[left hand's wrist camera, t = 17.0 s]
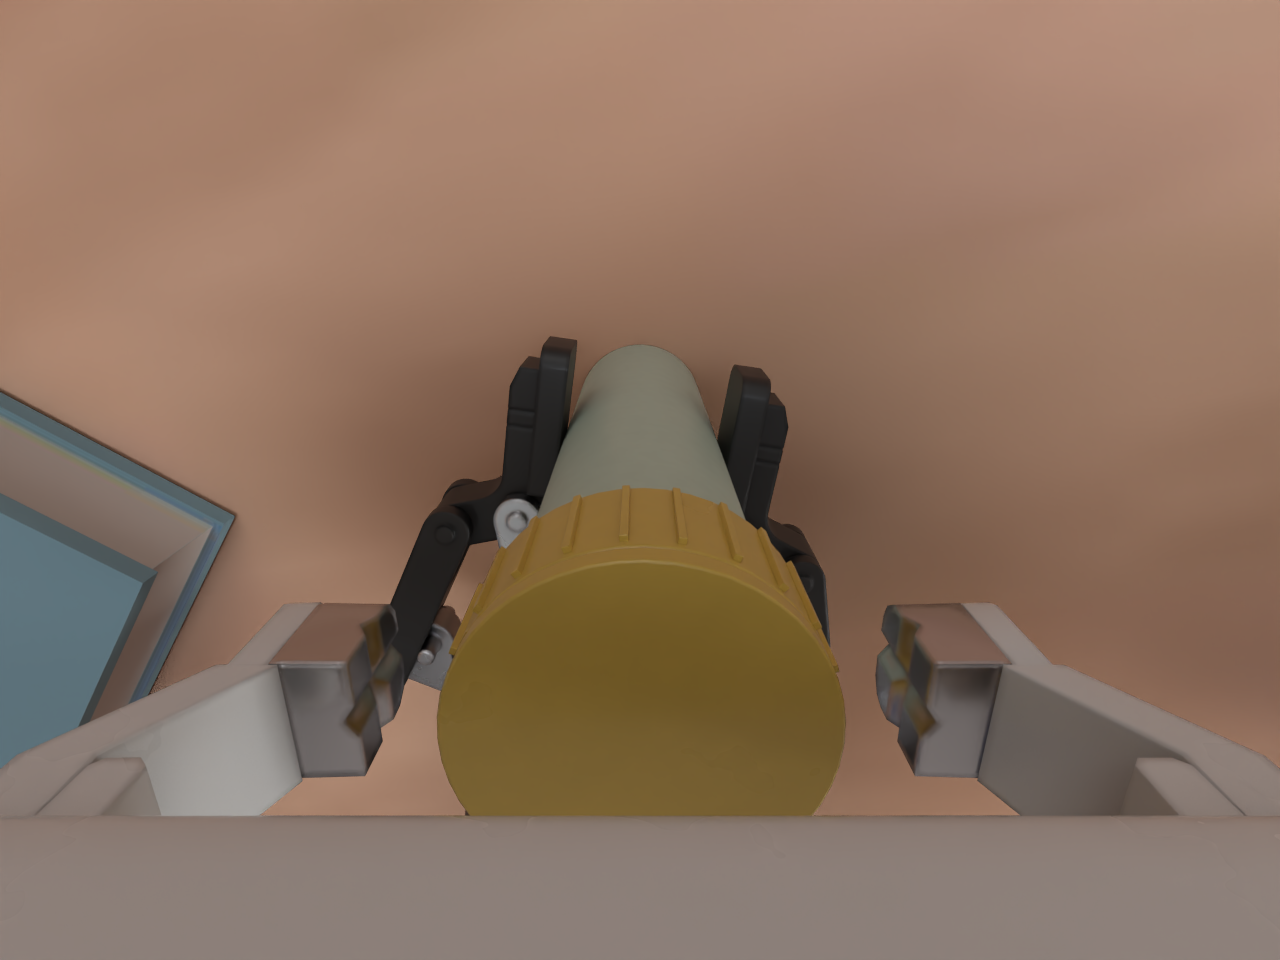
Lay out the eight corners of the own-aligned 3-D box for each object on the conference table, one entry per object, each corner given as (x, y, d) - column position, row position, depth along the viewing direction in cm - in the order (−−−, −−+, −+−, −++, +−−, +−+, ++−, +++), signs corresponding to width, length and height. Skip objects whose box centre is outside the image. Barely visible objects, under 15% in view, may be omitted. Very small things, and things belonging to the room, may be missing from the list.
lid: (407, 662, 10) (350, 770, 8) (609, 408, 9) (600, 463, 7) (664, 819, 12) (670, 950, 10) (879, 614, 10) (942, 714, 8)
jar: (704, 347, 23) (820, 565, 8) (694, 463, 25) (778, 824, 10) (581, 341, 23) (478, 549, 8) (578, 457, 25) (486, 813, 10)
